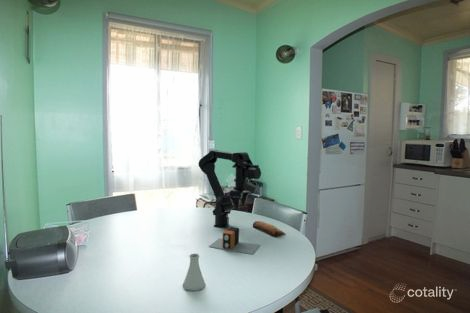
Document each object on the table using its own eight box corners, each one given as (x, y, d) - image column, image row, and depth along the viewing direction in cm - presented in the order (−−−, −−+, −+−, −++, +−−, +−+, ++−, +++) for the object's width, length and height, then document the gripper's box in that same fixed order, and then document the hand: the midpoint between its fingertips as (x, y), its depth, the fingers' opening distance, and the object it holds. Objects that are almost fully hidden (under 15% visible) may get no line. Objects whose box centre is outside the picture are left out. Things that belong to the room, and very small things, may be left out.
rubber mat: (208, 247, 125) (208, 246, 125) (219, 238, 135) (219, 238, 135) (252, 254, 118) (252, 253, 118) (260, 245, 128) (260, 244, 128)
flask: (183, 280, 96) (183, 250, 95) (205, 279, 96) (206, 250, 96) (181, 292, 89) (181, 260, 88) (205, 291, 89) (205, 260, 88)
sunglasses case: (288, 234, 143) (283, 223, 141) (278, 243, 140) (273, 233, 138) (264, 224, 158) (259, 215, 156) (255, 233, 155) (250, 223, 153)
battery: (239, 227, 130) (231, 234, 120) (239, 242, 130) (230, 250, 121) (230, 226, 131) (221, 233, 122) (230, 241, 132) (221, 248, 122)
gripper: (250, 180, 134) (249, 213, 135) (261, 176, 151) (260, 205, 152) (228, 179, 138) (227, 211, 139) (241, 174, 155) (240, 203, 156)
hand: (240, 207), depth 147 cm, fingers open, 9 cm apart
